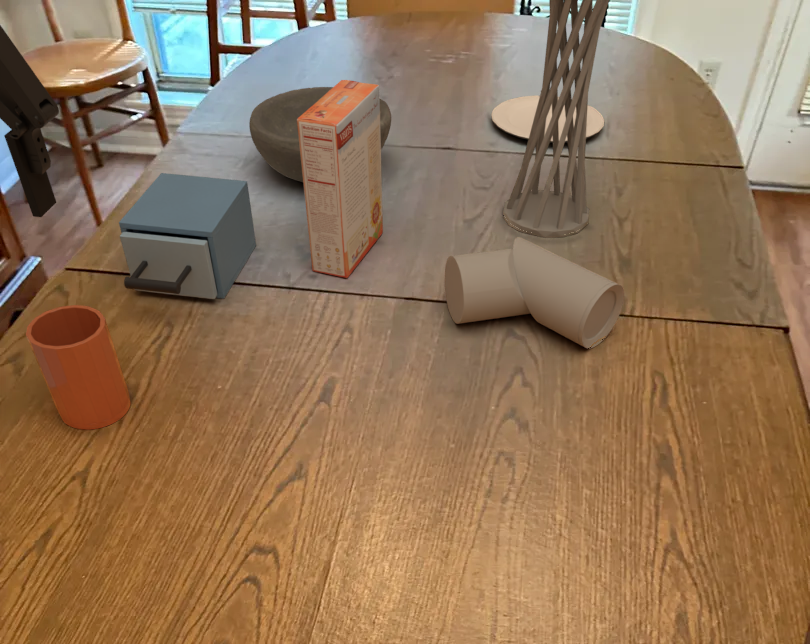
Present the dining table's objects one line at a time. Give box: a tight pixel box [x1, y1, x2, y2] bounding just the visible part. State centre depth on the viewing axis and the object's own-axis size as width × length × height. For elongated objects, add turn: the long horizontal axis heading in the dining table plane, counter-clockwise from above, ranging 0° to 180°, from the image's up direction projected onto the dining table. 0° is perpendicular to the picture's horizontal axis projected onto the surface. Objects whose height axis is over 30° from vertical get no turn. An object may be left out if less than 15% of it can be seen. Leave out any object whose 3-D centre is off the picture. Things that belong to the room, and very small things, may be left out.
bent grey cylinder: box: [444, 236, 625, 349], centre depth 101 cm, size 18×10×20 cm
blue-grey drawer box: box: [118, 172, 257, 300], centre depth 109 cm, size 15×13×10 cm
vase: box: [502, 0, 610, 239], centre depth 110 cm, size 14×13×35 cm
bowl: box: [248, 86, 392, 183], centre depth 129 cm, size 23×22×10 cm
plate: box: [490, 95, 605, 144], centre depth 145 cm, size 21×21×2 cm
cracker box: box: [297, 79, 384, 279], centre depth 107 cm, size 14×6×21 cm, turn 159°
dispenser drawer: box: [119, 229, 217, 300], centre depth 105 cm, size 19×11×8 cm, turn 170°
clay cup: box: [25, 304, 132, 431], centre depth 88 cm, size 8×8×11 cm
